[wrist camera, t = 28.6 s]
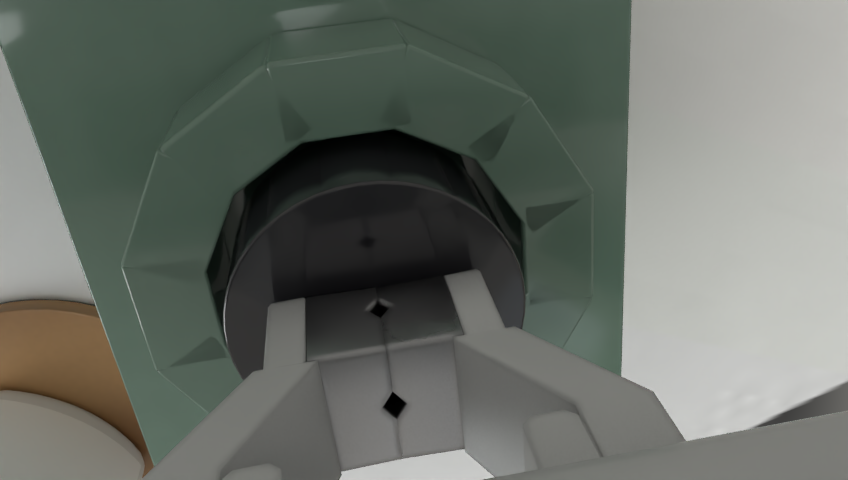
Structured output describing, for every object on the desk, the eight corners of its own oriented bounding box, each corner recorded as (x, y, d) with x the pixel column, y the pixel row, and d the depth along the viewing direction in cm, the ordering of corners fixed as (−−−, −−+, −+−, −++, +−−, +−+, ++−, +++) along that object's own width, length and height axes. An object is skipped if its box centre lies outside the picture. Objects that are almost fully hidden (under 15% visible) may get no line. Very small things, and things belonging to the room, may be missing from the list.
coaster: (-161, 328, 22) (-172, 339, 22) (174, 275, 23) (171, 285, 23) (-33, 554, 27) (-40, 568, 27) (242, 503, 28) (241, 516, 27)
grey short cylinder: (205, 154, 11) (187, 208, 10) (487, 112, 12) (520, 158, 10) (263, 381, 13) (258, 462, 12) (501, 340, 14) (532, 412, 12)
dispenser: (112, -72, 19) (-91, -2, 9) (499, -118, 20) (695, -100, 10) (206, 270, 23) (139, 559, 14) (516, 220, 24) (660, 460, 14)
